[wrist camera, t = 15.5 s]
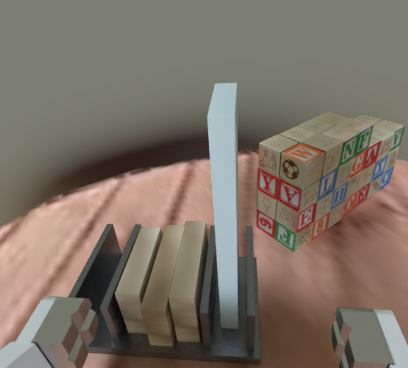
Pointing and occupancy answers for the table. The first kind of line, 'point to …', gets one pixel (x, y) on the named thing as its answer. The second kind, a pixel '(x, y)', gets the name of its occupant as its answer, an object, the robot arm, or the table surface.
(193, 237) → the offcut
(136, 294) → the offcut
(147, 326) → the offcut
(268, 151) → the stack of blocks
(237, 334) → the slot rack
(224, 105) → the tall panel
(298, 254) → the table surface
